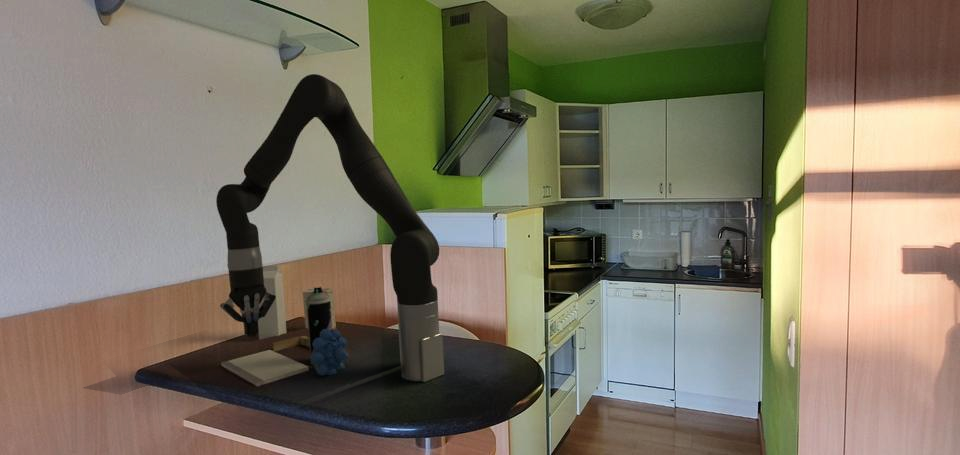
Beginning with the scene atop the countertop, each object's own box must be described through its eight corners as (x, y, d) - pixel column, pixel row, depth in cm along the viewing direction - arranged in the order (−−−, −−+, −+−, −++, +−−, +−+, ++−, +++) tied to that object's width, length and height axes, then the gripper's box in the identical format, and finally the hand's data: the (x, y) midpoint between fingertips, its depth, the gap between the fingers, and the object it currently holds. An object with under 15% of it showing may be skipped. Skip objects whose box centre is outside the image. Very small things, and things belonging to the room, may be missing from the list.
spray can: (316, 373, 118) (310, 290, 117) (308, 367, 122) (302, 287, 121) (338, 367, 122) (332, 286, 120) (329, 361, 126) (324, 284, 124)
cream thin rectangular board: (311, 365, 116) (256, 382, 107) (311, 371, 117) (257, 388, 107) (271, 348, 131) (221, 362, 122) (272, 354, 131) (221, 368, 122)
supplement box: (336, 328, 158) (333, 287, 157) (330, 332, 153) (327, 290, 152) (311, 328, 159) (308, 288, 158) (305, 333, 154) (302, 291, 153)
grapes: (330, 390, 107) (327, 336, 106) (306, 386, 110) (302, 333, 109) (362, 371, 118) (359, 321, 117) (339, 368, 121) (336, 320, 120)
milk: (279, 340, 147) (274, 267, 145) (258, 341, 147) (253, 268, 145) (286, 334, 153) (281, 263, 151) (267, 335, 153) (261, 264, 151)
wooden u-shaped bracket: (350, 365, 122) (349, 351, 122) (317, 376, 116) (316, 361, 116) (303, 347, 139) (302, 335, 139) (272, 355, 133) (271, 343, 132)
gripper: (222, 271, 113) (229, 346, 114) (279, 263, 122) (285, 332, 123) (210, 269, 118) (217, 341, 119) (265, 261, 127) (272, 328, 129)
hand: (252, 336), depth 121 cm, fingers closed
